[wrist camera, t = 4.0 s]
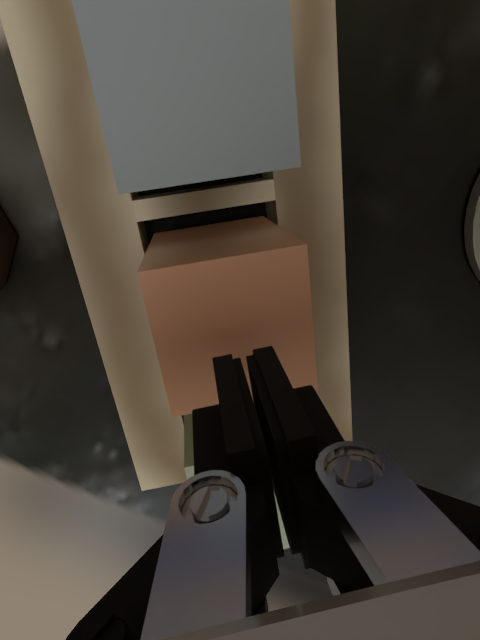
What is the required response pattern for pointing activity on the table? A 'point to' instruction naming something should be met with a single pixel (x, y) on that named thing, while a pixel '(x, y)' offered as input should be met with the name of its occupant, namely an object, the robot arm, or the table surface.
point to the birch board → (132, 210)
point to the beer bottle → (6, 247)
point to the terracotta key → (226, 304)
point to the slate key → (191, 88)
